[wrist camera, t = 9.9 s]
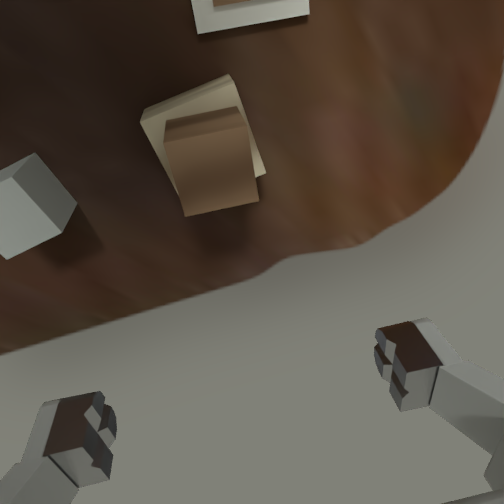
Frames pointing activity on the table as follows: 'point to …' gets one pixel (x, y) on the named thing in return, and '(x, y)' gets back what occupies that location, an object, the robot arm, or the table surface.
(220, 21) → the swatch
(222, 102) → the oak base block
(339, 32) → the table surface
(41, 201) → the grey cube
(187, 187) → the walnut cube
